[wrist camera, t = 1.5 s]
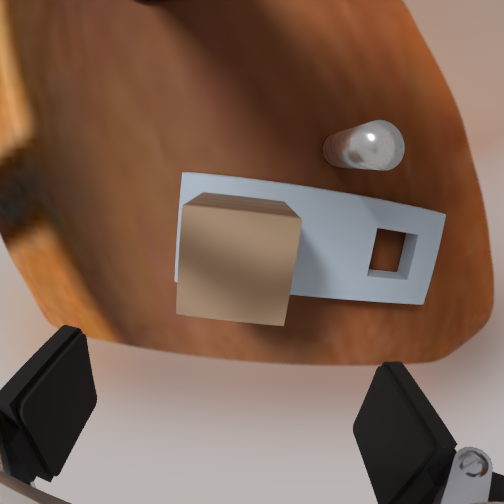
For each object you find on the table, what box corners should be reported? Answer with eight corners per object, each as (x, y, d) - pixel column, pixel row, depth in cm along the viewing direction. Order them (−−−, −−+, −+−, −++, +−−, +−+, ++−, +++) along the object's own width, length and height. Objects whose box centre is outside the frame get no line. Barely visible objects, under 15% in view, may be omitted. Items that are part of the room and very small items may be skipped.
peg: (325, 129, 27) (362, 114, 18) (358, 136, 27) (406, 127, 18) (320, 164, 28) (356, 164, 19) (353, 170, 28) (401, 175, 19)
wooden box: (203, 192, 26) (182, 205, 18) (284, 201, 27) (302, 219, 18) (196, 268, 28) (176, 314, 20) (272, 277, 28) (283, 326, 20)
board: (187, 171, 28) (164, 175, 20) (433, 210, 29) (482, 226, 21) (179, 272, 31) (158, 309, 23) (413, 295, 32) (451, 330, 24)
